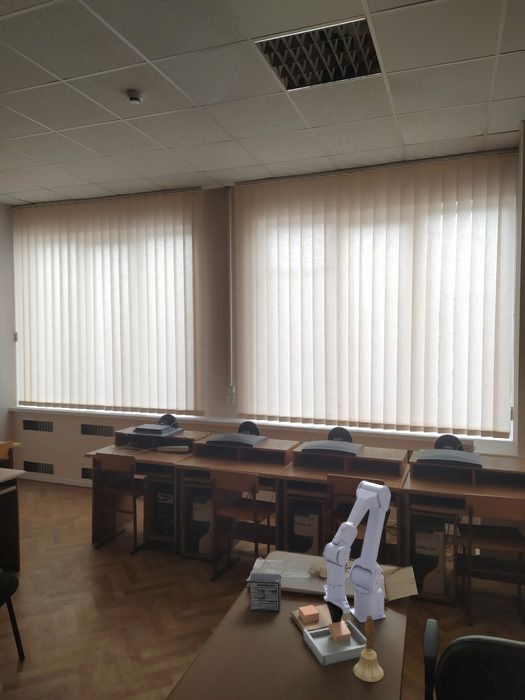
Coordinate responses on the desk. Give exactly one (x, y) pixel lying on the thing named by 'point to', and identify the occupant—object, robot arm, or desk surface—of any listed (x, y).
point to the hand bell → (368, 658)
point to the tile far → (308, 613)
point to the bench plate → (315, 625)
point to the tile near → (339, 632)
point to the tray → (335, 645)
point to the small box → (265, 592)
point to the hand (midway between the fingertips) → (336, 624)
